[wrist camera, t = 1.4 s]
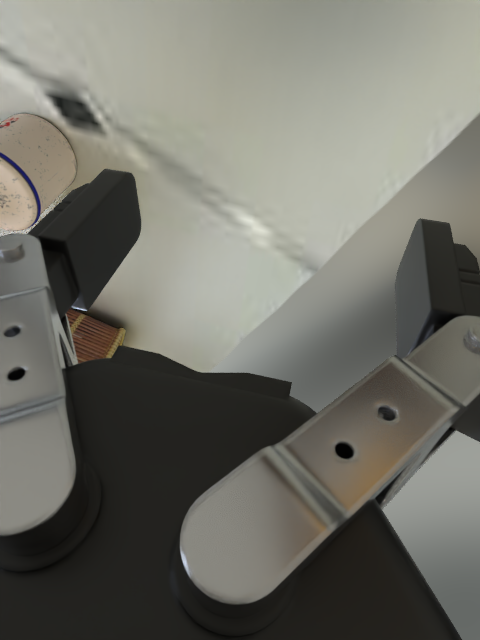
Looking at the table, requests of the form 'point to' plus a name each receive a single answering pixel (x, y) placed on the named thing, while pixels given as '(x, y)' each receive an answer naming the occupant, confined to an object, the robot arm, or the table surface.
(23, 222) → the teacup with lid
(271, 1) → the table surface
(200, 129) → the table surface
